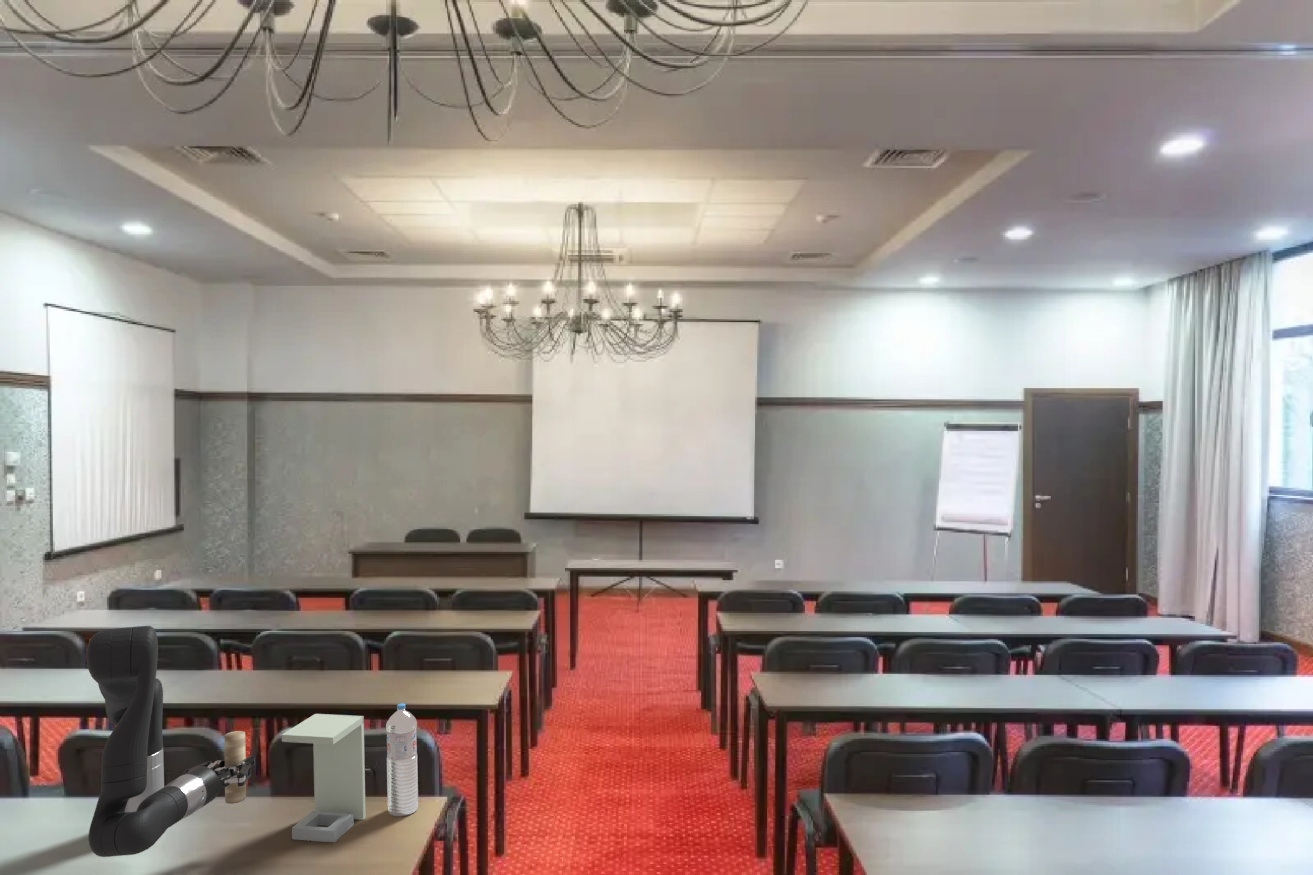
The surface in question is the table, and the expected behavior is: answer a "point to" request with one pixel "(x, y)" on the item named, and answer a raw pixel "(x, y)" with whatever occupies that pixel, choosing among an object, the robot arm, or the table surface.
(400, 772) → the water bottle
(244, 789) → the peg
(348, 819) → the socket stand
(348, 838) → the table surface
